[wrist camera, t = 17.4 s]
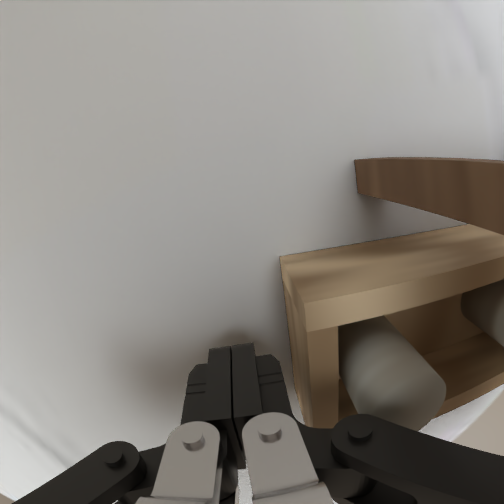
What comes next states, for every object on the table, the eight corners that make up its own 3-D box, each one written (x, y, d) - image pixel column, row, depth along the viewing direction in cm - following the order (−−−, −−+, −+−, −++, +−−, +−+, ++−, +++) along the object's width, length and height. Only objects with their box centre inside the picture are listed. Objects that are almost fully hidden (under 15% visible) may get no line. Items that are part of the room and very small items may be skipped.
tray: (294, 388, 13) (324, 491, 7) (279, 256, 11) (321, 337, 6) (488, 328, 13) (554, 380, 8) (500, 218, 11) (589, 248, 6)
